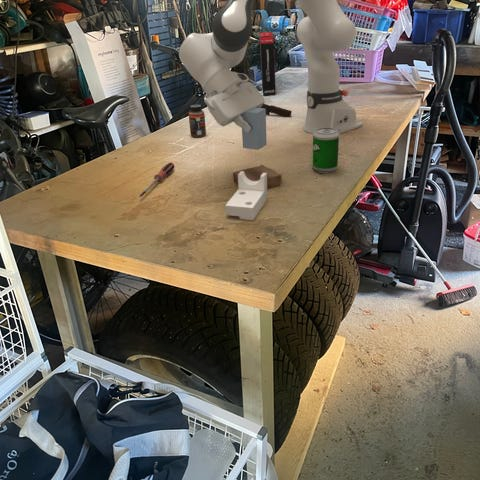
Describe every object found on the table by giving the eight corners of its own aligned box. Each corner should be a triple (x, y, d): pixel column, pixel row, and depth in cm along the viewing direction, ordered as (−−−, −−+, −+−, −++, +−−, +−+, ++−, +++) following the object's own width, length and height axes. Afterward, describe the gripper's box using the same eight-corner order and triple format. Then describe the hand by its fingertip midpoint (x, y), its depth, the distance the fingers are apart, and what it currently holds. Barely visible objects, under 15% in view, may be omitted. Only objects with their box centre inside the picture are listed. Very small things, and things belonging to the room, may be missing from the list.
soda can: (339, 166, 145) (341, 127, 139) (335, 175, 139) (337, 134, 133) (314, 164, 148) (315, 126, 142) (309, 173, 141) (310, 133, 136)
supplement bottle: (204, 138, 178) (201, 107, 173) (188, 137, 179) (185, 107, 174) (208, 133, 183) (205, 103, 178) (193, 133, 185) (190, 103, 179)
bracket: (242, 197, 130) (240, 171, 126) (267, 199, 128) (266, 172, 124) (226, 218, 119) (224, 190, 115) (253, 221, 117) (252, 192, 113)
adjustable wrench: (286, 129, 199) (233, 113, 206) (288, 127, 201) (236, 111, 208) (290, 109, 194) (235, 94, 202) (292, 108, 196) (238, 92, 204)
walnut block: (262, 174, 143) (262, 164, 141) (280, 184, 135) (280, 174, 134) (233, 182, 139) (232, 172, 137) (250, 193, 131) (249, 183, 130)
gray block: (251, 142, 134) (250, 107, 130) (266, 144, 132) (265, 108, 127) (242, 147, 131) (241, 111, 126) (258, 150, 129) (256, 112, 124)
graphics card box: (276, 95, 232) (275, 35, 219) (262, 96, 232) (259, 36, 219) (274, 88, 247) (273, 31, 234) (261, 89, 247) (259, 32, 234)
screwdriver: (145, 202, 130) (143, 192, 129) (135, 201, 131) (133, 191, 130) (177, 169, 151) (175, 160, 150) (168, 169, 152) (167, 160, 150)
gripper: (207, 88, 119) (242, 130, 119) (248, 72, 134) (280, 110, 134) (194, 104, 123) (229, 145, 123) (236, 88, 138) (266, 124, 138)
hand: (256, 127), depth 129 cm, fingers closed on gray block, 5 cm apart
